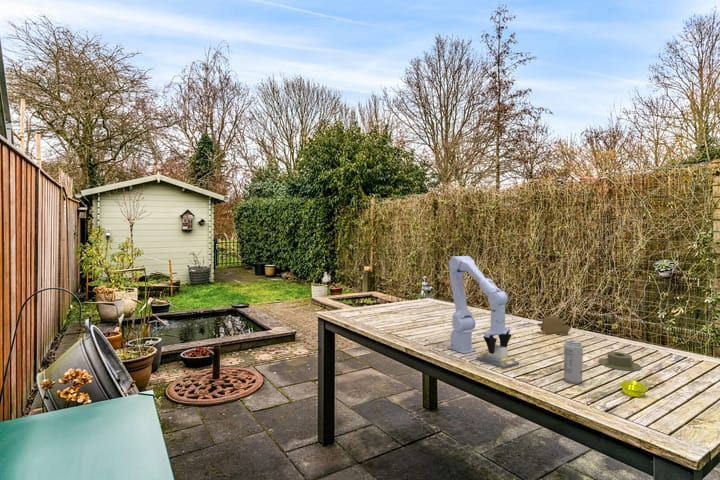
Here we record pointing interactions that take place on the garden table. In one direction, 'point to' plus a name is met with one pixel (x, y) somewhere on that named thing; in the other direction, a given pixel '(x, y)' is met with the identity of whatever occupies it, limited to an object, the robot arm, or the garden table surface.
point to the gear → (633, 388)
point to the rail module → (499, 353)
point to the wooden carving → (554, 325)
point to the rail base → (498, 361)
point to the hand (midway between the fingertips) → (497, 351)
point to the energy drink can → (573, 361)
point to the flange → (620, 362)
